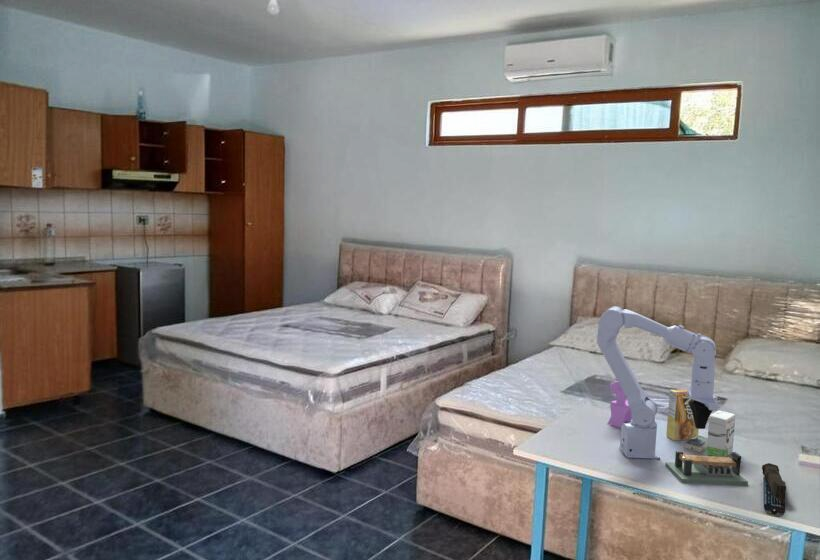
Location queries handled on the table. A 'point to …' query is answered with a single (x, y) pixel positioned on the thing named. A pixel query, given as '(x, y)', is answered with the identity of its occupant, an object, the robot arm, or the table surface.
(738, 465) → the heat sink
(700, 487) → the table surface
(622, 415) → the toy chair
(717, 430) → the ink box
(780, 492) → the hand tool
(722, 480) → the circuit board
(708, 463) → the strap lever
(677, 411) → the candy box
